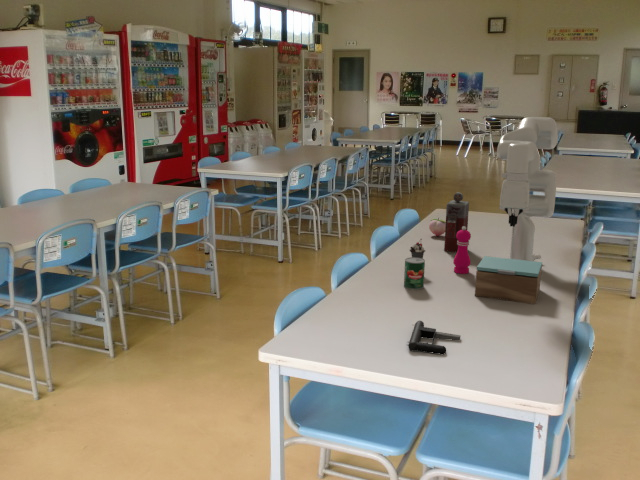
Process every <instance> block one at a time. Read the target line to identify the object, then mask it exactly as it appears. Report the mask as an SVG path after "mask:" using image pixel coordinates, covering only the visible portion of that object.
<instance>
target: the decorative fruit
mask: <svg viewBox="0 0 640 480" xmlns="http://www.w3.org/2000/svg"><path fill="white" fill-rule="evenodd" d="M428 226H429V227H428V228H429V231H430V232H431V233H432V234H434V235H435V236H437V237H439V236H442V235H445V226H446V220H445V219H440V217H438V219H437V218H432V219H431V220H430V223H429V225H428Z"/></svg>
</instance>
